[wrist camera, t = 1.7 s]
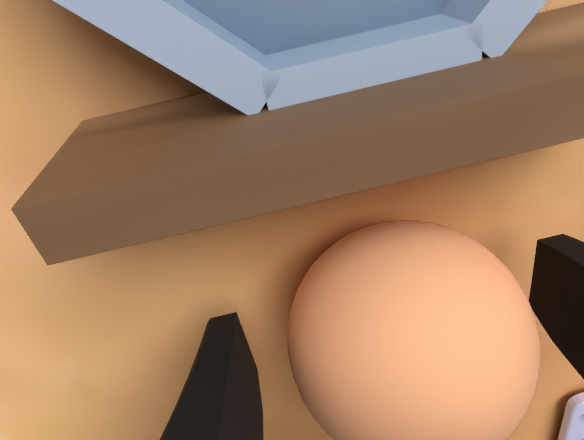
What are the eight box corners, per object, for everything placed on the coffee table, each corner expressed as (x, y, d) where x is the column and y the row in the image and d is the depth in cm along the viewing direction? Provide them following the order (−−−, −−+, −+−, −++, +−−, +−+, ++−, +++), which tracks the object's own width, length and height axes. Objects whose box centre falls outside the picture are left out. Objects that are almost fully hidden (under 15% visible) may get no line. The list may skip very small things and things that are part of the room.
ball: (463, 311, 13) (581, 490, 9) (296, 351, 13) (331, 550, 9) (467, 157, 10) (641, 309, 6) (255, 207, 10) (277, 396, 6)
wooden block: (601, 47, 9) (770, 93, 7) (102, 165, 9) (47, 265, 6) (611, -4, 9) (800, 22, 6) (81, 121, 9) (11, 208, 6)
